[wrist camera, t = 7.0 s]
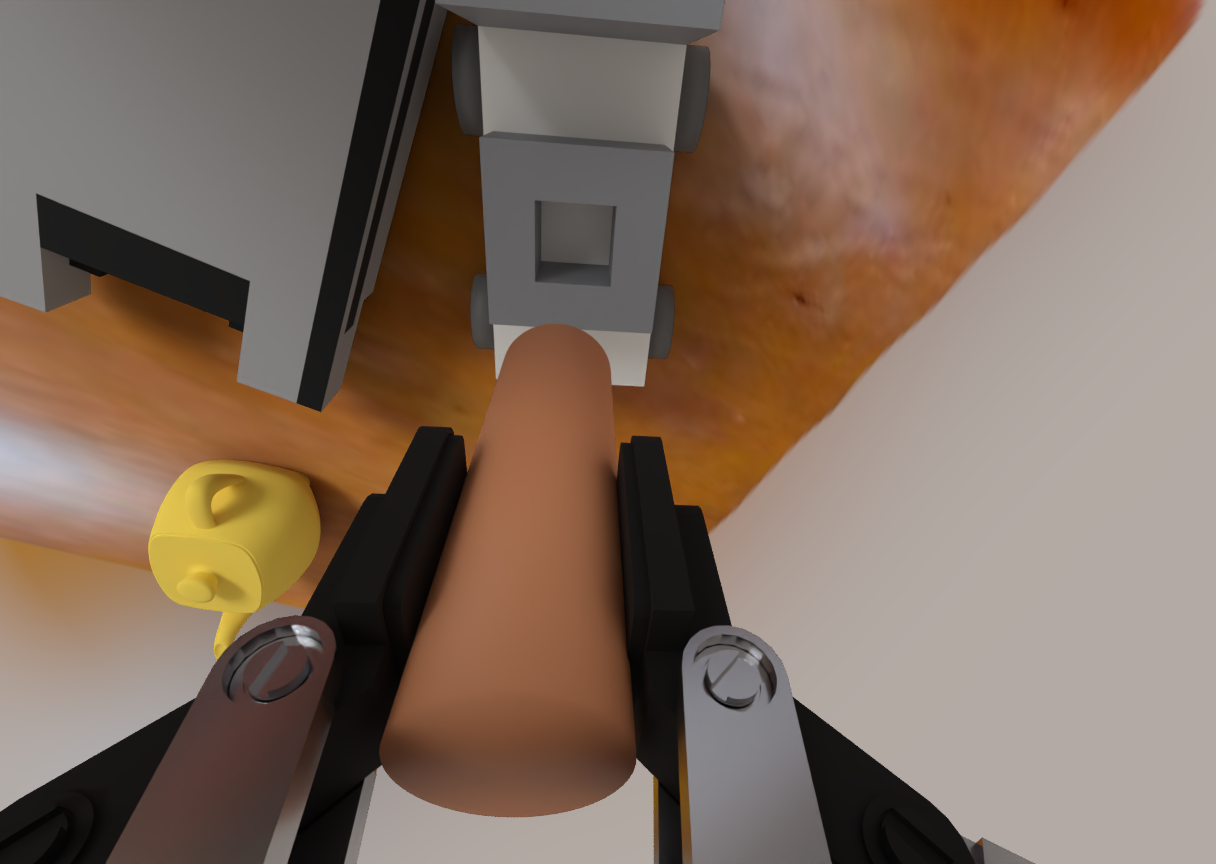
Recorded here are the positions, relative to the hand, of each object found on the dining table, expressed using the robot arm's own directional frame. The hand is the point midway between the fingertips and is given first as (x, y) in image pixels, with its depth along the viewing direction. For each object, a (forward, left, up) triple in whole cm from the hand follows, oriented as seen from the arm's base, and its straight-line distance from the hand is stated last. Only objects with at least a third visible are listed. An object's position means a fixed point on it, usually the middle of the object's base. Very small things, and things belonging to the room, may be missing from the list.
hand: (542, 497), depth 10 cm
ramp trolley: (0, 0, -29) cm, 29 cm away
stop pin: (0, 0, -5) cm, 5 cm away
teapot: (+27, -27, -29) cm, 48 cm away
